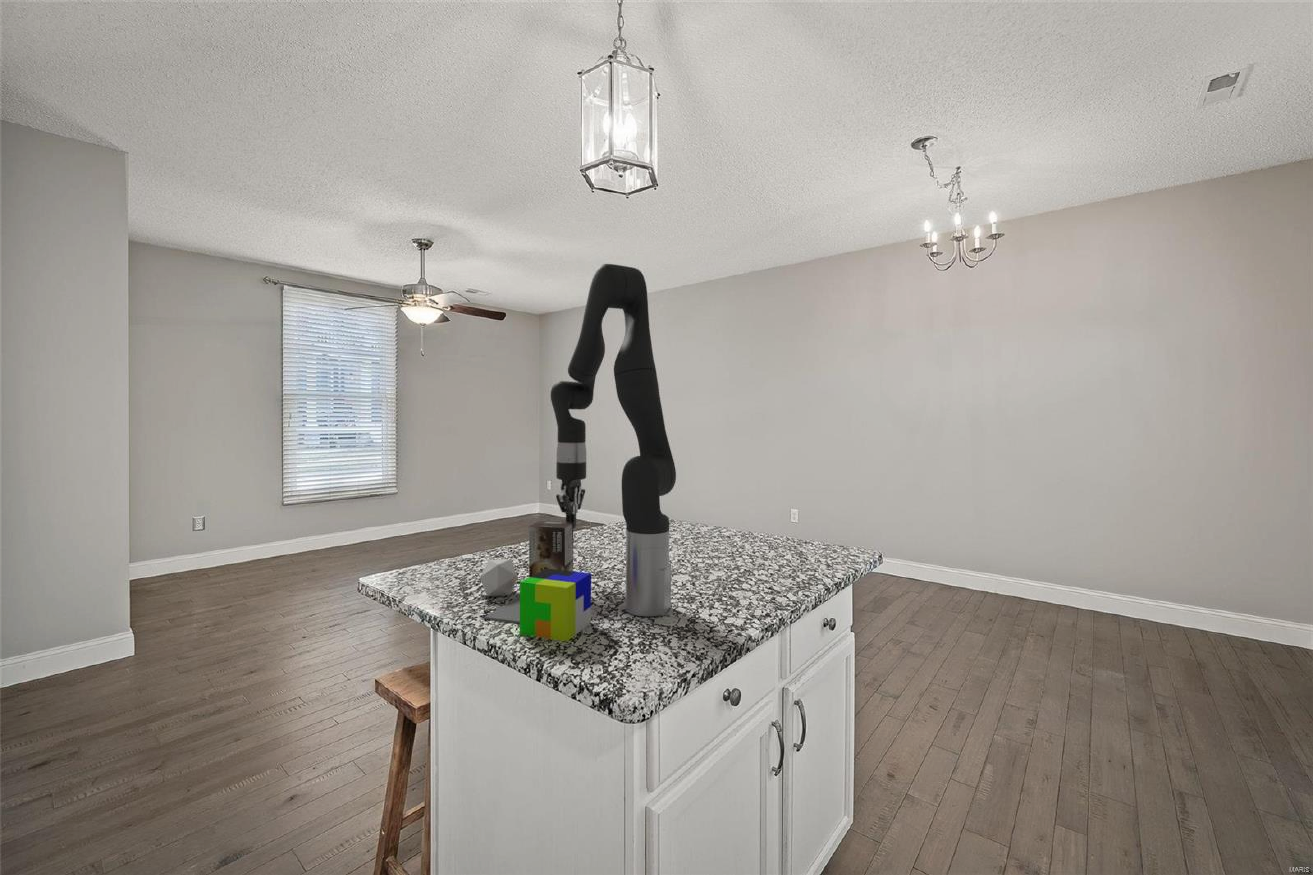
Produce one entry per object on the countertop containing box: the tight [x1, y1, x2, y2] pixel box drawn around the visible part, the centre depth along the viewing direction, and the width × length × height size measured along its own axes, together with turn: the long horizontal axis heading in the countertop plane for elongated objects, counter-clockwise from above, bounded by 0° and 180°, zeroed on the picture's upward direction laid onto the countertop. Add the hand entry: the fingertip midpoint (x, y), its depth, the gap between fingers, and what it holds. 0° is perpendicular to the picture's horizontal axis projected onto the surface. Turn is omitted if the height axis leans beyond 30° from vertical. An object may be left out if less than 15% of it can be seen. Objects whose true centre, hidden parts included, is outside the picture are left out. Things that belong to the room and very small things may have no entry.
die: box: [479, 558, 519, 597], centre depth 125 cm, size 8×9×10 cm
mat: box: [484, 595, 520, 624], centre depth 116 cm, size 9×16×1 cm, turn 165°
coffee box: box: [528, 520, 574, 578], centre depth 127 cm, size 9×6×16 cm
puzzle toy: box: [519, 568, 592, 642], centre depth 105 cm, size 10×10×10 cm
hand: (571, 528), depth 137 cm, fingers closed
